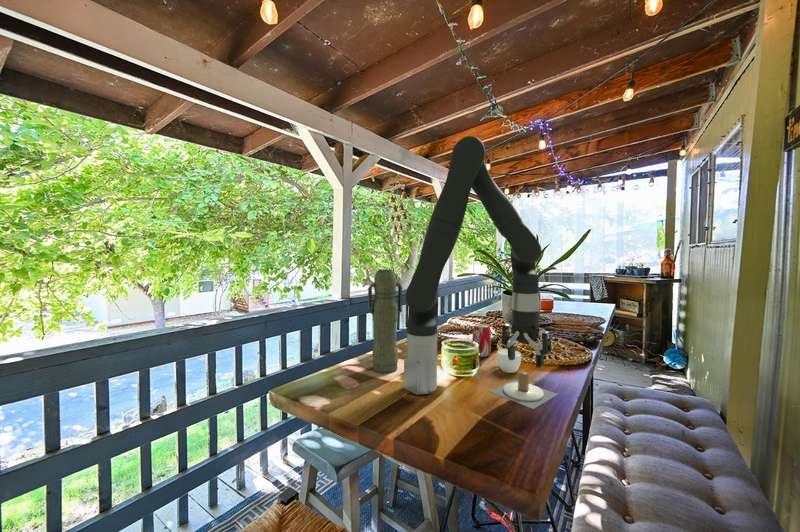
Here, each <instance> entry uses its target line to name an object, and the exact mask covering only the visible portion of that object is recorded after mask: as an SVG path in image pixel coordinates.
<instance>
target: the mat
mask: <svg viewBox="0 0 800 532" xmlns="http://www.w3.org/2000/svg"><path fill="white" fill-rule="evenodd" d="M514 382H518V379H512V380H511V381H510V380H509V382H505V383H504V384H502V385H499V386H496V387H495V388H493V389H491V390H488V392H489V393H491V394H494V395H497V396H499V397H501V398H504V399H507V400H509V401H512V402H514V403H517V404H520V405H522V406H524V407H527V408H529V409H532V410H534V409H536V408H537V407H539V406H541V405H543V404H545V403H546V402H548V401H550V400H551V399H554V398H556V396H559V393H556V392H553V391H550V390H547V389H545V388H541V387H539V388H540V389H542V390H543V392H544V397H543V398H542V399H541V400H538V401H522V400H517V399H514V398H511V397H509V396H508V395H506V394H505V393H504V386H505V385H506V384H508V383H514Z"/></svg>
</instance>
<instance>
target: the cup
mask: <svg viewBox="0 0 800 532" xmlns="http://www.w3.org/2000/svg"><path fill="white" fill-rule="evenodd" d="M495 358H496V361H497V363H498V366H499V368H500V370H501V371H503V372H504V373H508V374H509V373H511V374H512V373H513V374H515V373H517V371H518V370H519V368H520V366H521V362H522V353H521V352H520V351H518V350H516V349H515V359H514V360H509V358H508V348H507V349H506V348H505V349H499V350H497V352H496V353H495Z"/></svg>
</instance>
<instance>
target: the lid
mask: <svg viewBox="0 0 800 532" xmlns="http://www.w3.org/2000/svg"><path fill="white" fill-rule="evenodd" d="M517 380H518V382H514V383H508V382H507V383H508V384H506V383H505V384H506V385H505V386H504V393H505V394H506V395H508V396H509V397H511V398H514V399H517V400H522V401H538V400H541V399H542V398H543V397H544V392H543V390H542V389H543V388H542V389H540V388H541V387H539V386H536V385H534V384H531V383H530V373H529V372H527V371H522V370H521V371H518V372H517Z"/></svg>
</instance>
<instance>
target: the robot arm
mask: <svg viewBox="0 0 800 532" xmlns="http://www.w3.org/2000/svg"><path fill="white" fill-rule="evenodd" d="M486 154H487V153H486V147H485V146H484V143H483V141H482V140H481V139H480V138H478V137H477V136H473V135H468V136H464V137H462V138H461V139H459V140H458V141H457V142H456V143H455V145H454V146H453V148H452V151H451V158H450V162H449V168H448V173H447V175H446V178H445V182H444V186H443V187H442V190H441V192H440V194H439V196H438V199H437V202H436V203H435V206H434V208H433V211H432V214H431V217H430V219H429V222H428V225H427V228H426V232H425V234H424V235H425V236H424V238H423V242H422V248H421V251H420V257H419V260H418V263H417V266H416V269H415V270H414V273H413V275H412V277H411V280H410V282H409V284H408V286H407V288H406V291H405V296H404V297H405V303H406V305H407V307H408V316H407V322H406V357H404V358H403V389H404V390H406V391H408V392H410V393H412V394H414V395H416V396H418V395H429V394H432V393H433V392H434V391H435V390H437V387H438V385H437V383H438V381H437V380H438V326H439V325H438V324H439V284H440V280H441V276H442V274H443V271H444V268H445V266H446V264H447V262H448V260H449V259H450V256H451V254H452V252H453V250H454V248H455V246H456V244H457V240H458V238H459V235H460V232H461V229H462V227H463V223H464V220H465V216H466V211H467V208H468V201H469V197H470V195H471V194H470V193H471V189H472V191H473V192H474V193H475V194H476V196H477V198H478V199H479V201H480V203H481V204H482V206H483V208H484V209H485V211H486V213H487V215H488V216H489V217H490V221H492V223H493V225H494V226H495V229H497V231H498V233H499V234H500V235H501V236H502V237H503V238H505V240H506V241H507V242H508V245H510V248H511V249H510V263H511V270H512V296H511V323H512V324H510V323H506V324H502V326H501V327H502V328H501V345H504V346H506V348H507V349H508V358H509V360H514V359H515V350H516V347H515V345H516V344H517V343H523V344H526V345H530V347H531V348H532V349H533V350H534V352H535V353H536V354H535V368H537V369H540V368H542V367H543V366H544V364H545V356H546V355H548V354H550V353H552V340H551V339H552V337H551V336H552V335H551V332H550V331H549V330H548V331H541V330H540V310H541V309H540V308H541V306H540V305H541V304H540V302H541V301H540V297H539V296H540V295H539V294H540V291H539V288H540V287H539V286H540V285H539V283H540V282H539V276H538V275H539V274H538V273H537V271H536V262H537V261H539V259H540V258H541V256H542V252H543V251H542V246H541V244H540V242H539V240H538V239H537V238H536V236H535V235H534V234H533V232H532V230H530V229H529V227H527V225H526V224H525V223H524V221H523V220H522V217H521V216H520V215H519V213H518V211H517V209H516V208H515V206H514V204H513V203H512V202H511V200H510V199H509V198H508V197H507V195H506V194H505V193H504V192H503V190H502V189H500V187H499V185H497V183H496V182H495V181H494V179H493V178H492V176H491V174H490V172H489V170H488V168H487V165H486V163H485V159H486ZM511 333H512V335H513V336H512V337H511ZM510 337H511V338H510ZM539 338H540V339H541V340H540V339H539Z"/></svg>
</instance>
